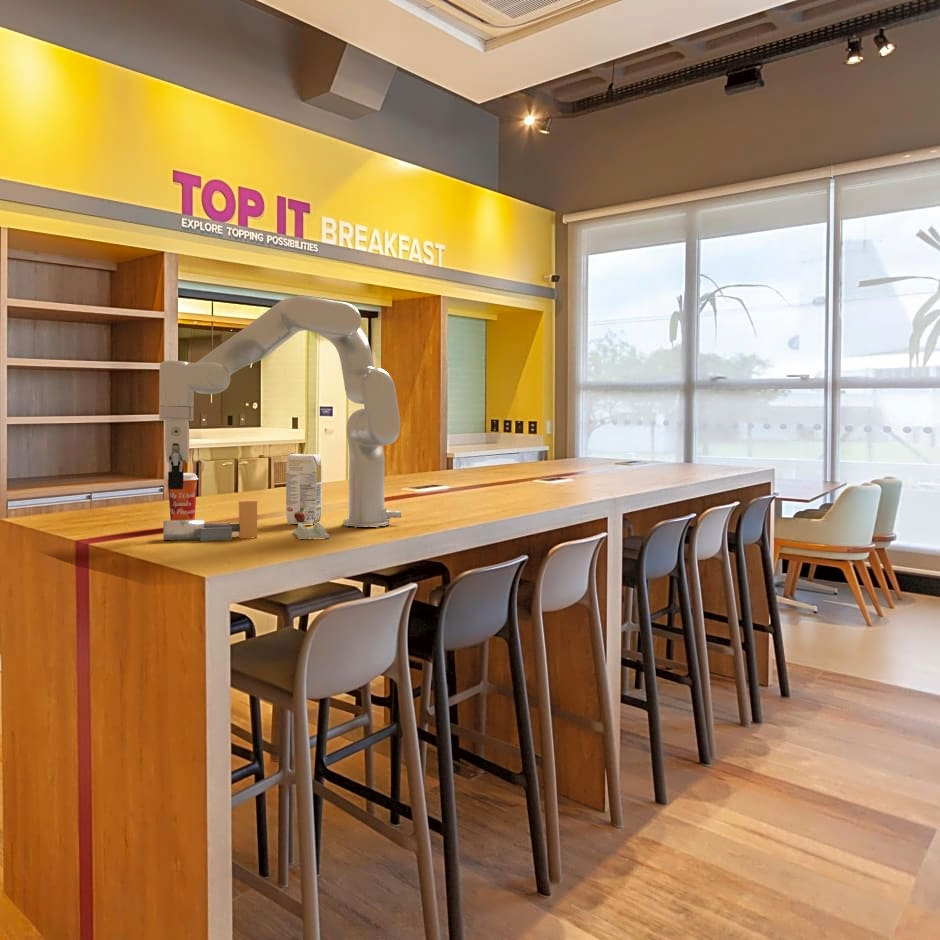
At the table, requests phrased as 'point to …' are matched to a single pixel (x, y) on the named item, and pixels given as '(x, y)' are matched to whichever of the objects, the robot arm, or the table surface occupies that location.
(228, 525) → the grey base tan upright
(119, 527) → the table surface
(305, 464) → the juice carton
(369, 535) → the table surface
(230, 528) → the channel block
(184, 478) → the paper cup
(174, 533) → the axle
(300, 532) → the cradle
